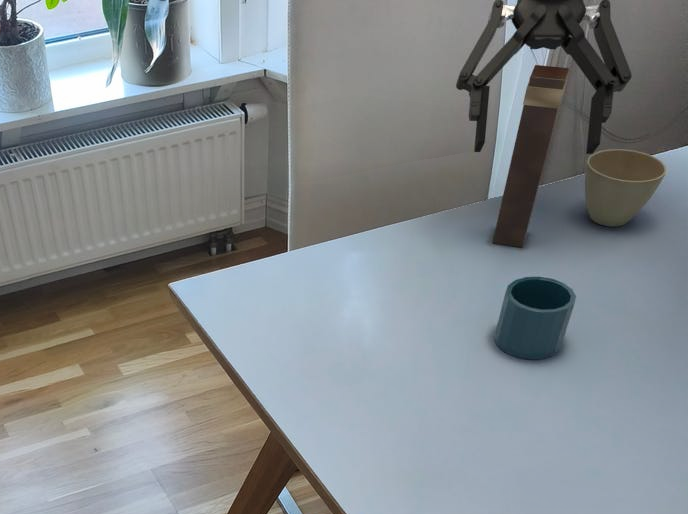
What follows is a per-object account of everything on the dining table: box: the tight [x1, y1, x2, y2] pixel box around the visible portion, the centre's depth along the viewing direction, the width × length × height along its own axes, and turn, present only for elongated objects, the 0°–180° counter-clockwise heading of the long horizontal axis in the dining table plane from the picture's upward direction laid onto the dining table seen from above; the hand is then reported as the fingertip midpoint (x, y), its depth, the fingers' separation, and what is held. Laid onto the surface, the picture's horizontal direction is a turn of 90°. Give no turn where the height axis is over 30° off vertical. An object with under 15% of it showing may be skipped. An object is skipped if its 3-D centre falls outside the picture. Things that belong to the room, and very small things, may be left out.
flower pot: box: [584, 148, 667, 228], centre depth 119 cm, size 10×10×7 cm
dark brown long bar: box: [492, 64, 570, 248], centre depth 112 cm, size 4×4×20 cm
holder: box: [494, 276, 577, 360], centre depth 102 cm, size 8×8×6 cm
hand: (535, 148), depth 108 cm, fingers open, 13 cm apart
